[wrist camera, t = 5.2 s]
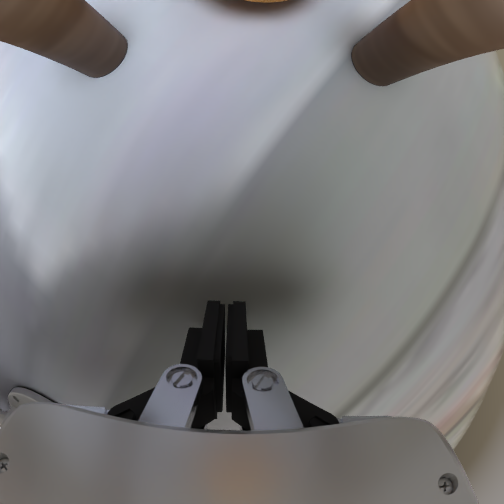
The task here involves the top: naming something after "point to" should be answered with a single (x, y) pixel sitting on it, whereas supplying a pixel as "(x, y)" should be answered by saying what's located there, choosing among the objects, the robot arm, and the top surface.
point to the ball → (266, 0)
